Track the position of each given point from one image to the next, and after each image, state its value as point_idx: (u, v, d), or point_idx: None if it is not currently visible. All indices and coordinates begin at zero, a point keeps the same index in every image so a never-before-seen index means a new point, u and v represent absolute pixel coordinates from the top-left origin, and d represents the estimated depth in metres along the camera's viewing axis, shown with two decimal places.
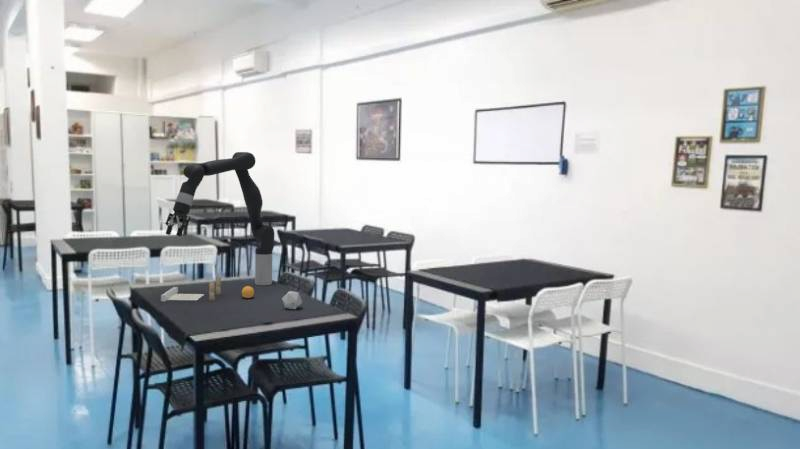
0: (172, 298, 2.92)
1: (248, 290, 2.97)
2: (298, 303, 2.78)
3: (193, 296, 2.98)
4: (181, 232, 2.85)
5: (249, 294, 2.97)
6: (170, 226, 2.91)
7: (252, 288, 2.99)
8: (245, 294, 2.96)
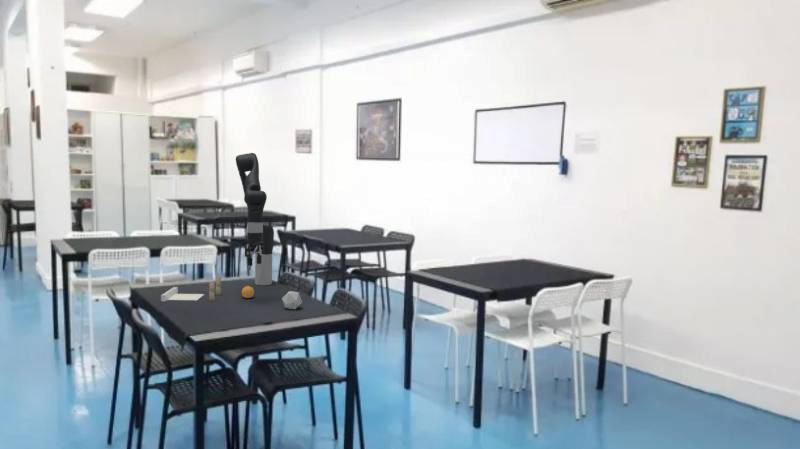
0: (172, 298, 2.92)
1: (248, 290, 2.97)
2: (298, 303, 2.78)
3: (193, 296, 2.98)
4: None
5: (249, 294, 2.97)
6: None
7: (252, 288, 2.99)
8: (245, 294, 2.96)
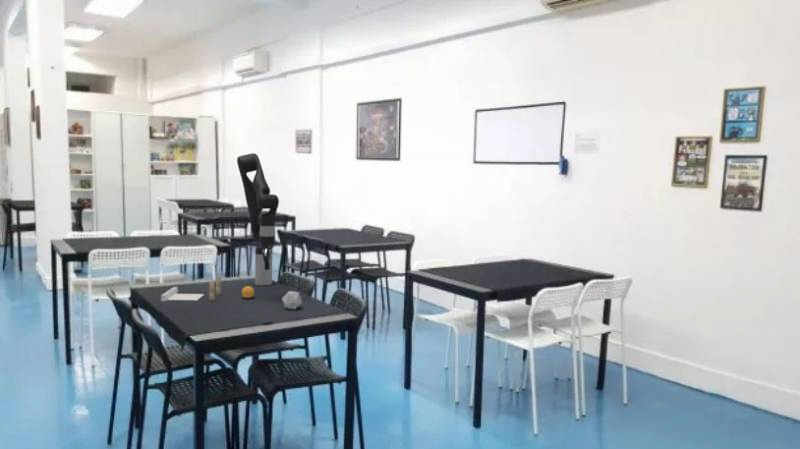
0: (172, 298, 2.92)
1: (248, 290, 2.97)
2: (298, 303, 2.78)
3: (193, 296, 2.98)
4: None
5: (249, 294, 2.97)
6: None
7: (252, 288, 2.99)
8: (245, 294, 2.96)
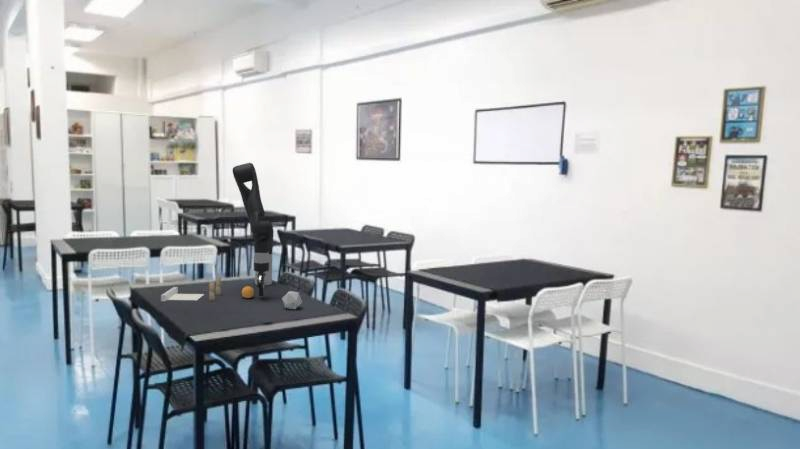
0: (172, 298, 2.92)
1: (248, 290, 2.97)
2: (298, 303, 2.78)
3: (193, 296, 2.98)
4: None
5: (249, 294, 2.97)
6: None
7: (252, 288, 2.99)
8: (245, 294, 2.96)
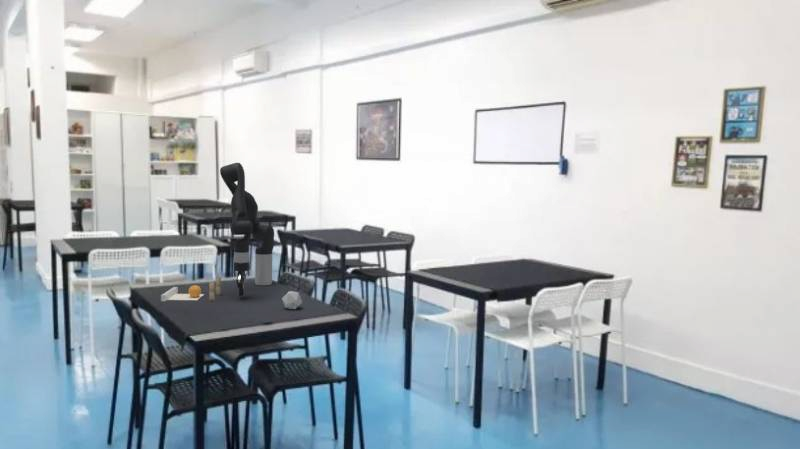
0: (172, 298, 2.92)
1: (190, 292, 2.95)
2: (298, 303, 2.78)
3: None
4: None
5: (193, 289, 2.95)
6: None
7: None
8: (195, 293, 2.95)
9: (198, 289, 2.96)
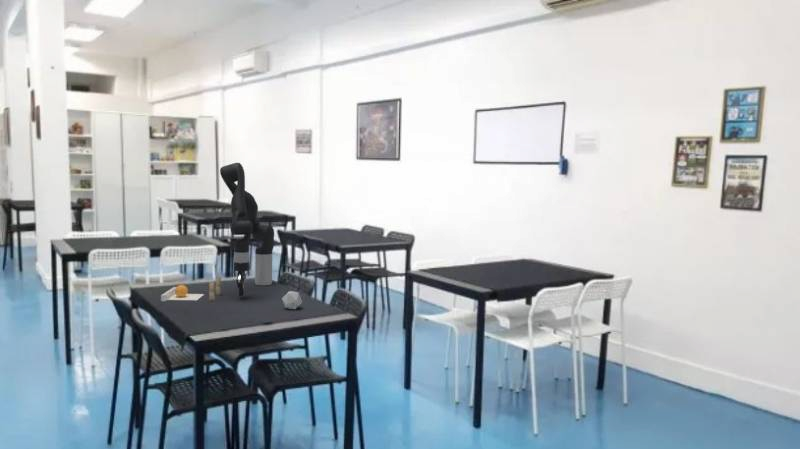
0: (172, 298, 2.92)
1: (181, 294, 2.94)
2: (298, 303, 2.78)
3: (193, 296, 2.98)
4: None
5: (177, 293, 2.94)
6: None
7: None
8: (179, 290, 2.94)
9: (175, 289, 2.95)
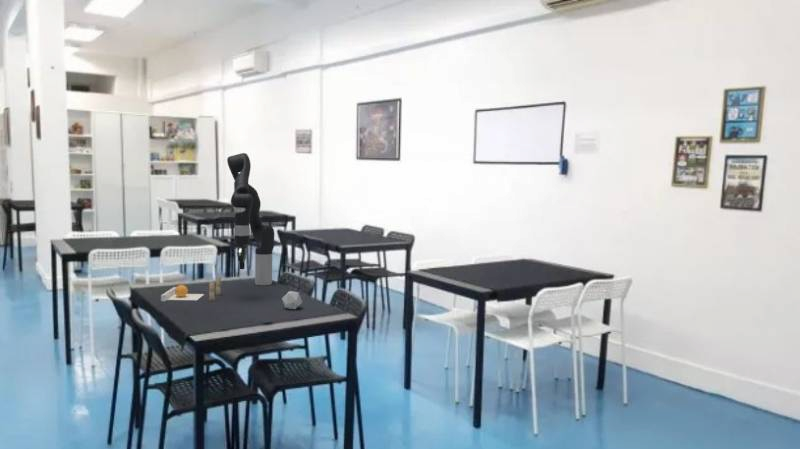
0: (172, 298, 2.92)
1: (181, 294, 2.94)
2: (298, 303, 2.78)
3: (193, 296, 2.98)
4: None
5: (177, 293, 2.94)
6: None
7: None
8: (179, 290, 2.94)
9: (175, 289, 2.95)
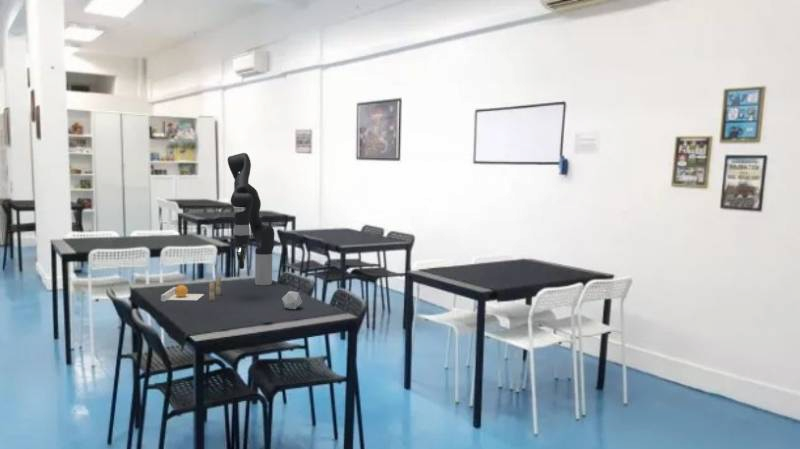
0: (172, 298, 2.92)
1: (181, 294, 2.94)
2: (298, 303, 2.78)
3: (193, 296, 2.98)
4: None
5: (177, 293, 2.94)
6: None
7: None
8: (179, 290, 2.94)
9: (175, 289, 2.95)
